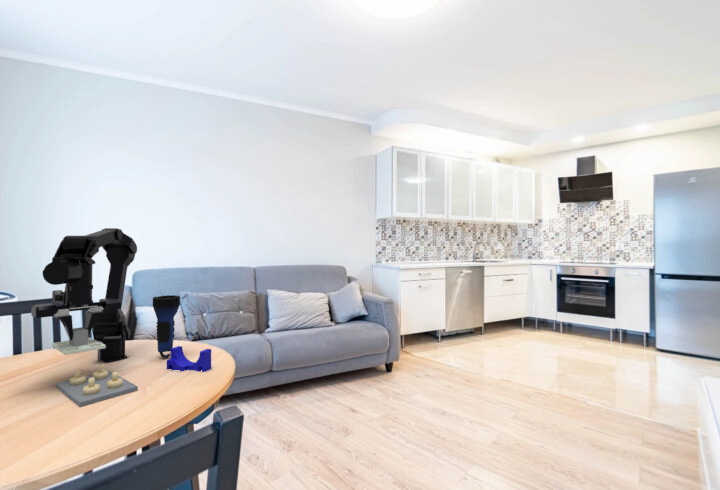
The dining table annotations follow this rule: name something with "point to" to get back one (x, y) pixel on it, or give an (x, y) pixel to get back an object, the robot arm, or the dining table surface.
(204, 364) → the blue u-shaped cradle
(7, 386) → the dining table surface
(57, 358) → the dining table surface
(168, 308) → the flashlight
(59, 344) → the board
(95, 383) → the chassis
